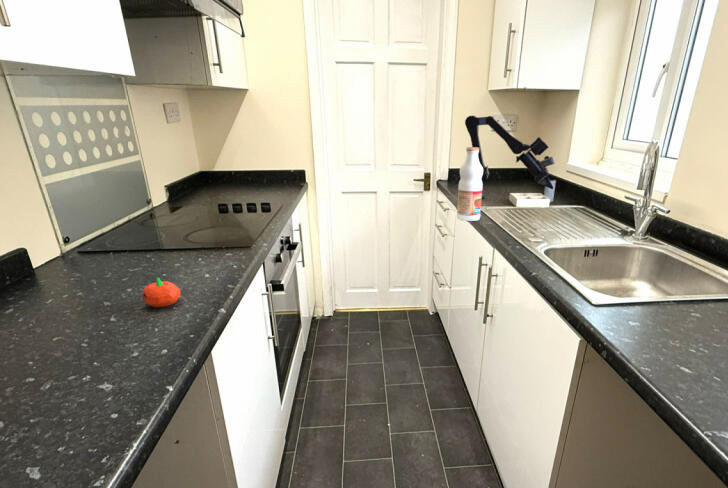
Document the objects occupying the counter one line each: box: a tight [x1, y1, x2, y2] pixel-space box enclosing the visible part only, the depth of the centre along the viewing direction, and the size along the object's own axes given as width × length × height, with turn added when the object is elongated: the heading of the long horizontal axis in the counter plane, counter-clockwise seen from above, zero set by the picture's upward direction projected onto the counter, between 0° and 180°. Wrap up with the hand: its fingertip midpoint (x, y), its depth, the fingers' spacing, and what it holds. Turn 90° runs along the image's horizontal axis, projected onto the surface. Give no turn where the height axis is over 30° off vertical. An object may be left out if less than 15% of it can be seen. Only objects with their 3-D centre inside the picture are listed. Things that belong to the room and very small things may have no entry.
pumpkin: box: [142, 277, 182, 308], centre depth 93 cm, size 7×8×6 cm
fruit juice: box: [456, 146, 483, 222], centre depth 163 cm, size 9×9×28 cm
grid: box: [508, 192, 551, 208], centre depth 195 cm, size 15×15×4 cm
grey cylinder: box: [543, 178, 557, 203], centre depth 198 cm, size 4×4×10 cm
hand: (552, 186), depth 197 cm, fingers open, 9 cm apart
